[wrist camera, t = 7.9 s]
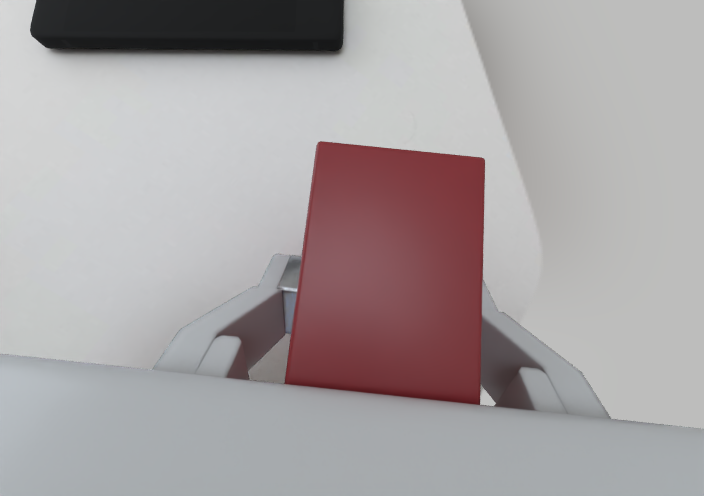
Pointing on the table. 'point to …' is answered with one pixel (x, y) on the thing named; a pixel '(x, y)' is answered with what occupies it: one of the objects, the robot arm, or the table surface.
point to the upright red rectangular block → (391, 275)
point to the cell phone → (190, 24)
